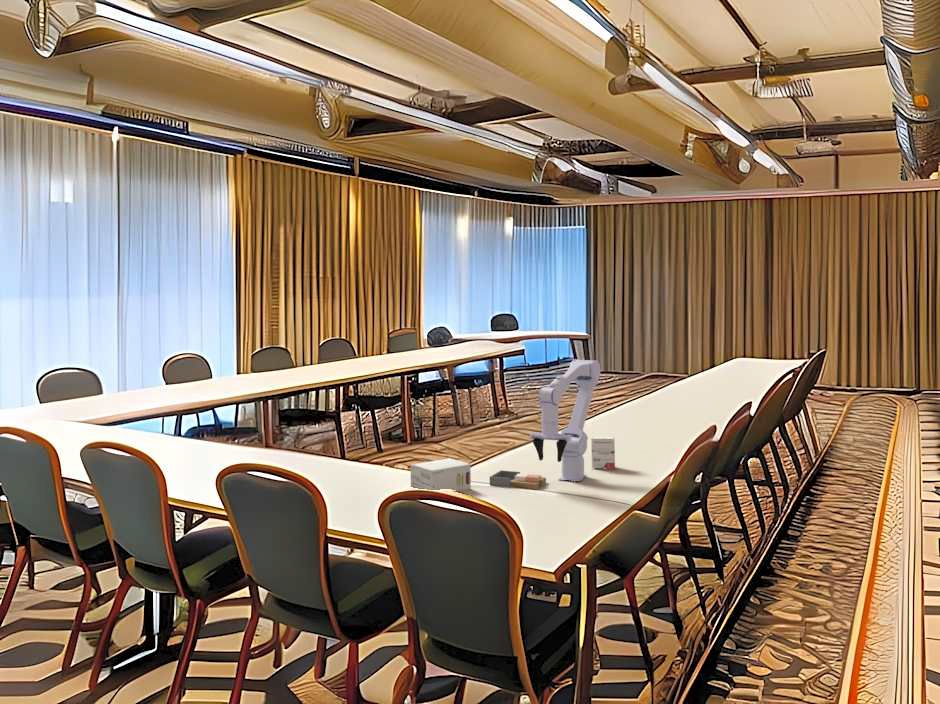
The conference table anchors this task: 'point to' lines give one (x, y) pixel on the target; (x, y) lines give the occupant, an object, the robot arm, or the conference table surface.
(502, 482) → the slate tray
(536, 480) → the terracotta tile
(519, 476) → the cream tile
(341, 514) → the conference table surface
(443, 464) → the supplement box
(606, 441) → the ink box
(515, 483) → the walnut board
